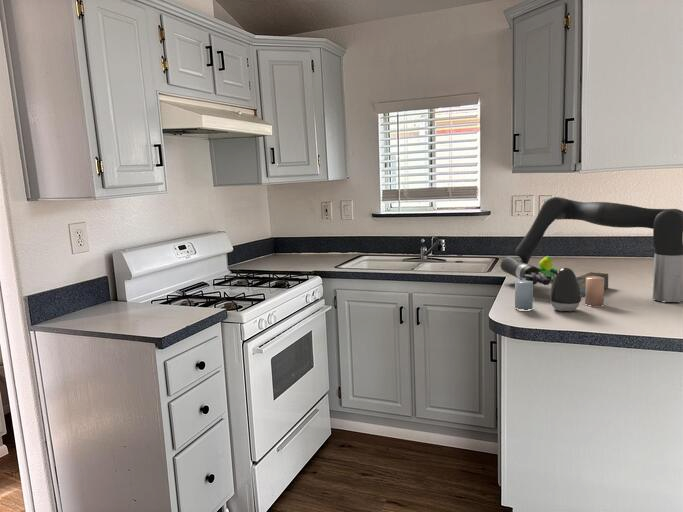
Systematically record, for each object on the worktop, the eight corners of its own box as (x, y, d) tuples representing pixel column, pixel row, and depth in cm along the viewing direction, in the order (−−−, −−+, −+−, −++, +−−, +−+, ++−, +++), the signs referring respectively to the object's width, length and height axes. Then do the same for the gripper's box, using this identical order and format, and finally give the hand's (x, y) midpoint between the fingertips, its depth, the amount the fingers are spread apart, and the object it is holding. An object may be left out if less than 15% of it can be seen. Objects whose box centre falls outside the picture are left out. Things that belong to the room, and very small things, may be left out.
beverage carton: (567, 294, 208) (567, 277, 207) (589, 286, 220) (590, 270, 219) (586, 296, 202) (587, 280, 201) (609, 288, 214) (609, 272, 213)
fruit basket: (546, 277, 241) (547, 253, 239) (560, 280, 232) (560, 255, 230) (526, 279, 237) (526, 255, 235) (539, 283, 229) (539, 257, 227)
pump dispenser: (552, 305, 191) (553, 264, 189) (583, 308, 185) (584, 266, 183) (545, 311, 183) (546, 269, 181) (577, 315, 177) (578, 271, 175)
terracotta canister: (606, 304, 189) (606, 277, 187) (599, 307, 185) (600, 280, 183) (589, 302, 193) (589, 275, 192) (582, 305, 189) (583, 278, 188)
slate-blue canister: (535, 308, 188) (535, 281, 186) (527, 312, 183) (527, 284, 182) (520, 306, 192) (520, 279, 190) (511, 309, 188) (511, 282, 186)
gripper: (512, 265, 213) (530, 273, 196) (544, 264, 214) (564, 271, 196) (512, 283, 214) (529, 293, 197) (543, 281, 215) (563, 291, 198)
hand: (547, 282), depth 197 cm, fingers closed
